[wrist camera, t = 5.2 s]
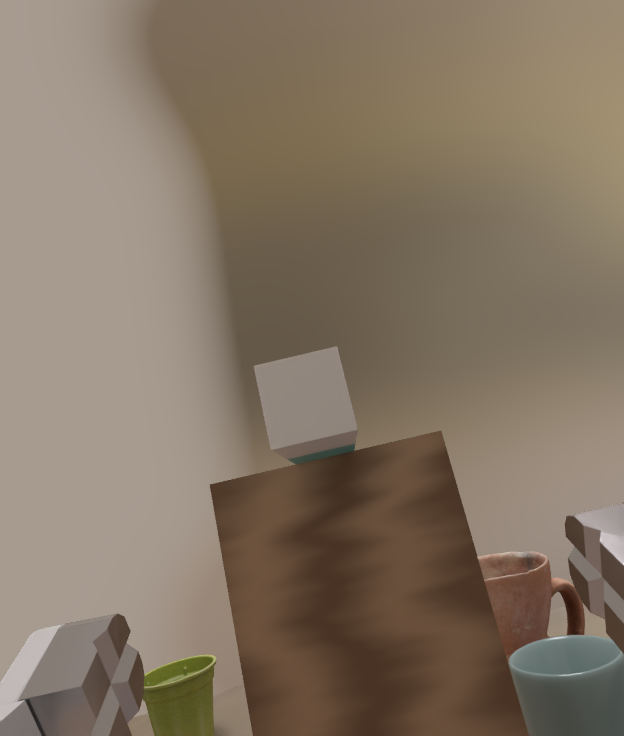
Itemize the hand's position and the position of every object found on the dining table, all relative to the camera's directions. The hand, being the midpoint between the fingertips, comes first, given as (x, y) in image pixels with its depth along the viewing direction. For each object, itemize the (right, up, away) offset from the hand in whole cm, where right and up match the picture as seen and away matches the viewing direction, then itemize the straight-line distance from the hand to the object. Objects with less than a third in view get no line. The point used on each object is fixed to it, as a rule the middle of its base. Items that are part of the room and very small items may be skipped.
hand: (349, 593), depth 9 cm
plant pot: (-15, -40, +50) cm, 66 cm away
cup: (+19, -26, +25) cm, 41 cm away
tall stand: (+6, -26, +15) cm, 31 cm away
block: (0, -1, +19) cm, 19 cm away
